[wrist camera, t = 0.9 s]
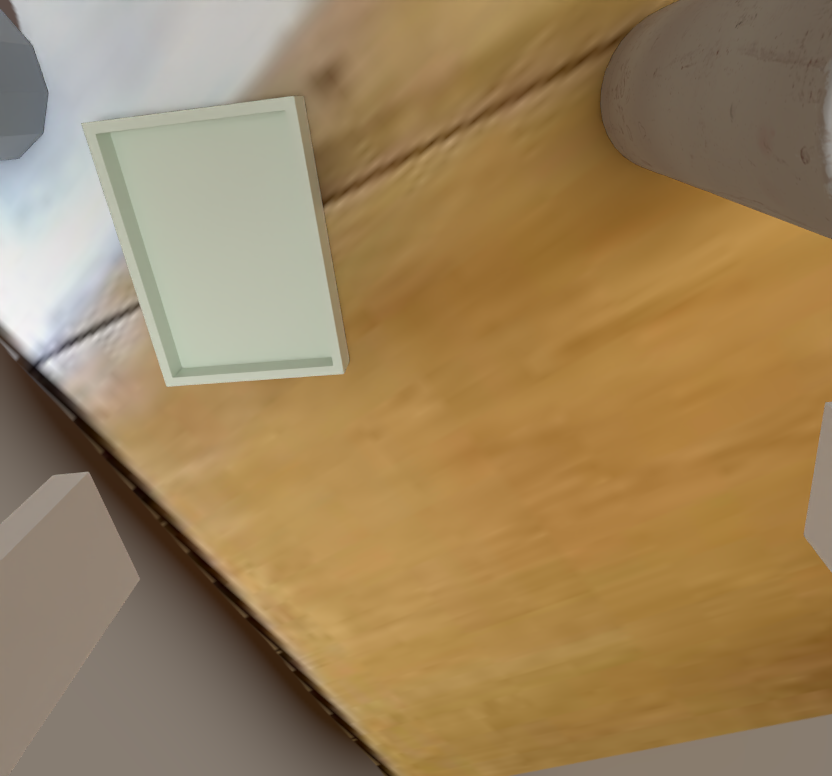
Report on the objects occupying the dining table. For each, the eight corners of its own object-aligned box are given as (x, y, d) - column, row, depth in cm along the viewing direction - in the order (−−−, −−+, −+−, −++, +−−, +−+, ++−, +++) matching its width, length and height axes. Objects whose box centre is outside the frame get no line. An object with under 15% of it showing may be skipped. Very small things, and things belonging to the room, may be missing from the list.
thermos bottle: (778, 117, 32) (2002, 188, 6) (635, 198, 34) (1124, 483, 9) (725, -36, 29) (2472, -940, 4) (574, 64, 31) (1027, -83, 6)
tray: (102, 121, 34) (81, 123, 32) (303, 96, 33) (293, 95, 31) (180, 373, 41) (166, 386, 39) (349, 360, 40) (343, 373, 38)
